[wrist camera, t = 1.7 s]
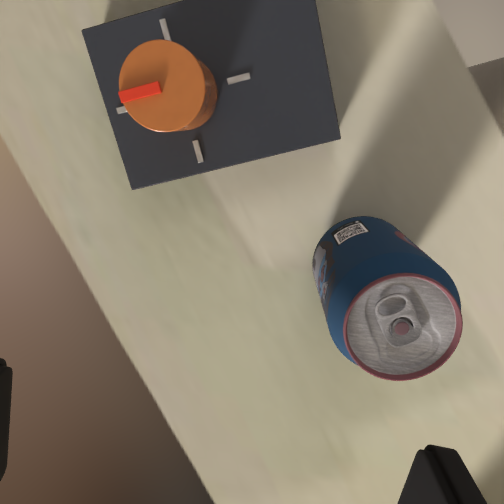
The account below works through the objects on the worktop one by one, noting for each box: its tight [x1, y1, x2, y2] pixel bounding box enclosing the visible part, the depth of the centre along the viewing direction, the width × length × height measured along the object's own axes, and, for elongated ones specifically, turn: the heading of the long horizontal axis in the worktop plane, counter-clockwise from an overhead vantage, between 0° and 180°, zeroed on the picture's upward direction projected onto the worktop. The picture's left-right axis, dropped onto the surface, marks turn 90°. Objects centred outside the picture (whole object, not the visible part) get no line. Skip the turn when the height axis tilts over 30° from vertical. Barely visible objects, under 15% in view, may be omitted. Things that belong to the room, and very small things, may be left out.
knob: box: [118, 39, 218, 132], centre depth 25 cm, size 4×4×6 cm
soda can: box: [313, 216, 463, 381], centre depth 28 cm, size 7×7×12 cm
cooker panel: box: [82, 0, 341, 190], centre depth 29 cm, size 14×10×3 cm
